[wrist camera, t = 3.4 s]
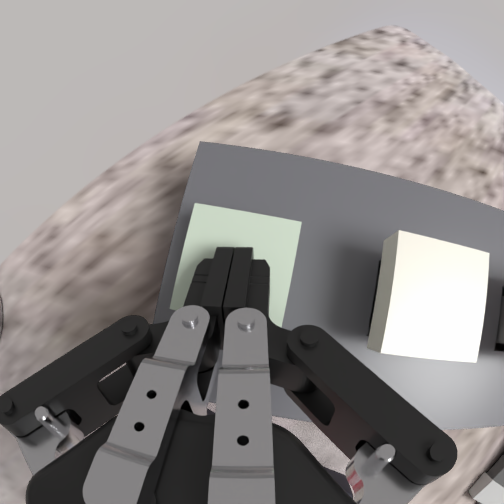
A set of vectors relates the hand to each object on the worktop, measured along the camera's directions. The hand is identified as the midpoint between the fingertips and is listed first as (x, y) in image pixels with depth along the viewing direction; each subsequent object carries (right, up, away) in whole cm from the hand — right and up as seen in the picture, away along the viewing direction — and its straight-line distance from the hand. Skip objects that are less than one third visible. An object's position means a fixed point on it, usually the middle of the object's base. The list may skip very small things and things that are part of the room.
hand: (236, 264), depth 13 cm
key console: (+9, -4, +9) cm, 13 cm away
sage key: (0, -1, +6) cm, 6 cm away
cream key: (+9, -2, +3) cm, 10 cm away
